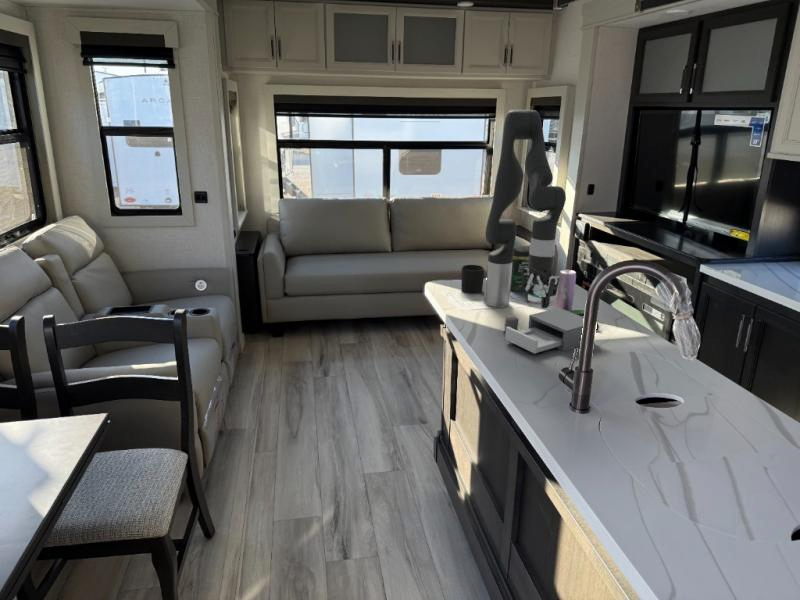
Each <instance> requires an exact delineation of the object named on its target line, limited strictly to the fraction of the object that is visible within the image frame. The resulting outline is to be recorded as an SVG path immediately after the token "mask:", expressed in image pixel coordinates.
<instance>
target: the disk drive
mask: <svg viewBox="0 0 800 600" xmlns="http://www.w3.org/2000/svg"><path fill="white" fill-rule="evenodd" d="M584 310H585V309H584ZM584 310H583V309H572V310H566V311H568V312H571V313H573V314H576V315H579V316H581V317H583V316H584ZM599 326H600V325H599V323H598V322H597V329H596V331H599V328H600V327H599ZM596 331H595V332H596Z"/></svg>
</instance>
